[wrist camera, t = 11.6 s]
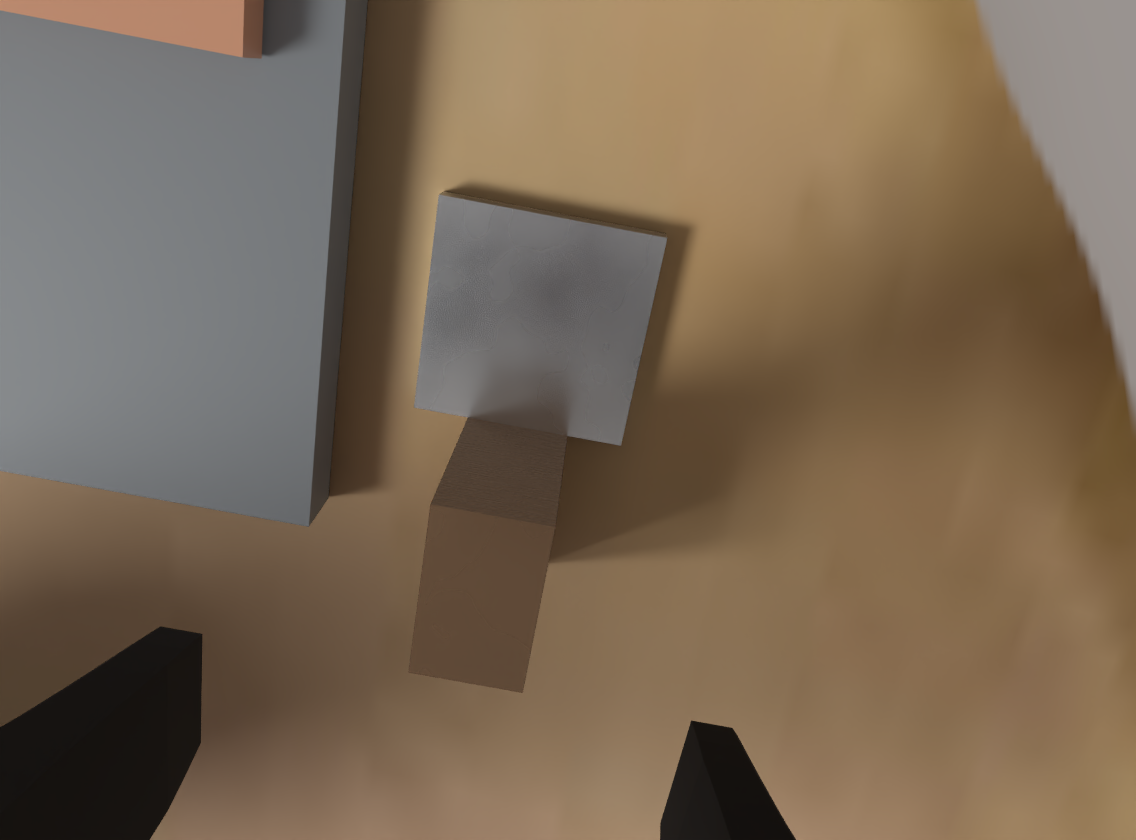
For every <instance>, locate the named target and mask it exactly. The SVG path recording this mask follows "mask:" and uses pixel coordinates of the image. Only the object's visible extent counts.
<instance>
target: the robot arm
mask: <svg viewBox="0 0 1136 840" xmlns="http://www.w3.org/2000/svg"><path fill="white" fill-rule="evenodd" d="M201 684H202V634H199V633H194V632H188V631H183V630H177V629H171V628H166V627H159V628H157V629H156V630H154V631H153V632H151V633H149V634H148V635H146V636H145V637H143V638H142V639H140V640H138V641H137V642H135V643H134V644H132V645H131V646H129V647H128V648H126V649H124V650H123V651H121V652H120V653H118V654H117V655H115V656H114V657H112V658H111V659H109V660H107V661H106V662H104V663H103V664H101V665H100V666H98V667H97V668H95V669H94V670H92V671H90V672H89V673H87V674H86V675H84V676H83V677H81V678H80V679H78V680H77V681H75V682H73V683H72V684H70V685H69V686H67V687H66V688H64V689H62V690H61V691H59V692H58V693H56V694H54V695H53V696H51V697H50V698H48V699H46V700H45V701H43V702H42V703H40V704H38V705H37V706H35V707H34V708H32V709H30V710H29V711H27V712H26V713H24V714H22V715H21V716H19V717H17V718H16V719H14V720H12V721H11V722H9V723H7V724H5V725H4V726H2V727H0V840H150V838H151V836H152V835H153V833H154V832H155V830H156V829H157V827H158V825H159V824H160V822H161V821H162V819H163V817H164V816H165V814H166V812H167V811H168V809H169V807H170V805H171V803H172V801H173V799H174V797H175V795H176V793H177V791H178V789H179V787H180V785H181V783H182V781H183V779H184V777H185V775H186V773H187V771H188V768H189V766H190V764H191V762H192V760H193V758H194V756H195V754H196V752H197V749H198V747H199V745H200V743H201ZM660 840H796V839H795V837H794V836H793V834H792V832H791V831H790V829H789V828H788V826H787V824H786V822H785V821H784V819H783V817H782V816H781V814H780V812H779V810H778V809H777V807H776V805H775V803H774V802H773V800H772V798H771V796H770V795H769V793H768V791H767V789H766V787H765V786H764V784H763V782H762V780H761V778H760V777H759V775H758V773H757V771H756V769H755V767H754V766H753V764H752V762H751V760H750V758H749V756H748V754H747V753H746V751H745V749H744V747H743V745H742V743H741V741H740V740H739V738H738V736H737V734H736V733H735V731H734V730H733V728H729V727H724V726H718V725H713V724H707V723H701V722H696V721H691V724H690V727H689V730H688V734H687V737H686V740H685V743H684V747H683V750H682V753H681V757H680V760H679V763H678V767H677V770H676V773H675V777H674V780H673V783H672V787H671V790H670V793H669V797H668V800H667V803H666V807H665V810H664V813H663V817H662V820H661V826H660Z"/></svg>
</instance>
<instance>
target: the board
mask: <svg viewBox="0 0 1136 840" xmlns="http://www.w3.org/2000/svg"><path fill="white" fill-rule="evenodd" d="M367 4H368V0H264V8H263V35H262V59H260V58H243V57H238V56H232V55H227V54H222V53H217V52H212V51H207V50H202V49H197V48H191V47H186V46H181V45H176V44H171V43H166V42H161V41H155V40H150V39H145V38H140V37H135V36H130V35H125V34H119V33H114V32H109V31H104V30H99V29H94V28H89V27H83V26H78V25H73V24H68V23H63V22H58V21H53V20H47V19H42V18H37V17H32V16H27V15H22V14H17V13H11V12H6V11H1V10H0V471H4V472H10V473H15V474H21V475H26V476H32V477H37V478H43V479H48V480H54V481H59V482H65V483H70V484H76V485H81V486H87V487H92V488H98V489H103V490H109V491H114V492H120V493H125V494H131V495H136V496H142V497H148V498H153V499H159V500H164V501H170V502H175V503H181V504H186V505H192V506H197V507H203V508H208V509H214V510H219V511H225V512H230V513H236V514H241V515H247V516H252V517H258V518H263V519H269V520H274V521H280V522H285V523H291V524H296V525H302V526H307V527H309V526H310V524H311V523H312V521H313V520H314V518H315V517H316V516H317V514H318V513H319V511H320V510H321V508H322V507H323V505H324V504H325V502H326V501H327V499H328V497H329V484H330V471H331V459H332V446H333V433H334V421H335V408H336V396H337V383H338V370H339V358H340V345H341V332H342V320H343V307H344V294H345V282H346V269H347V256H348V244H349V231H350V218H351V206H352V193H353V181H354V168H355V155H356V143H357V130H358V117H359V105H360V92H361V79H362V67H363V54H364V41H365V29H366V16H367Z"/></svg>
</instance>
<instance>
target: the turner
mask: <svg viewBox="0 0 1136 840" xmlns="http://www.w3.org/2000/svg"><path fill="white" fill-rule="evenodd" d="M666 242H667V236H666V233H661V232H656V231H651V230H645V229H640V228H635V227H630V226H624V225H619V224H614V223H609V222H603V221H598V220H593V219H588V218H582V217H577V216H572V215H567V214H561V213H556V212H551V211H546V210H540V209H535V208H530V207H525V206H519V205H514V204H509V203H504V202H498V201H493V200H488V199H483V198H477V197H472V196H467V195H462V194H456V193H451V192H446V191H444V192H442V193H441V194H439V199H438V207H437V216H436V224H435V233H434V241H433V250H432V259H431V267H430V276H429V284H428V293H427V301H426V310H425V318H424V327H423V336H422V344H421V353H420V361H419V370H418V378H417V387H416V395H415V404H414V408H420V409H425V410H430V411H436V412H441V413H447V414H452V415H457V416H463V417H468V419H467V421H466V423H465V426H464V428H463V430H462V433H461V435H460V437H459V440H458V442H457V444H456V447H455V449H454V451H453V454H452V456H451V458H450V461H449V463H448V465H447V468H446V470H445V472H444V475H443V477H442V479H441V481H440V484H439V486H438V488H437V491H436V493H435V495H434V498H433V500H432V502H431V505H430V513H429V521H428V528H427V536H426V544H425V551H424V559H423V566H422V574H421V582H420V589H419V597H418V604H417V612H416V620H415V627H414V635H413V643H412V650H411V658H410V665H409V673H415V674H420V675H426V676H432V677H437V678H443V679H448V680H454V681H460V682H465V683H471V684H476V685H482V686H488V687H493V688H499V689H504V690H510V691H516V692H521V693H523V688H524V683H525V678H526V673H527V668H528V663H529V658H530V653H531V648H532V643H533V638H534V633H535V628H536V623H537V618H538V613H539V608H540V603H541V598H542V592H543V587H544V582H545V577H546V572H547V567H548V562H549V557H550V552H551V547H552V542H553V537H554V532H555V527H556V519H557V512H558V504H559V496H560V489H561V481H562V473H563V466H564V458H565V450H566V443H567V436H571V437H576V438H582V439H587V440H592V441H598V442H603V443H609V444H614V445H619V446H621V443H622V439H623V434H624V430H625V425H626V421H627V416H628V412H629V407H630V403H631V398H632V394H633V390H634V385H635V381H636V376H637V372H638V367H639V363H640V358H641V354H642V349H643V345H644V340H645V336H646V331H647V327H648V322H649V318H650V313H651V309H652V304H653V300H654V295H655V291H656V287H657V282H658V278H659V273H660V269H661V264H662V260H663V255H664V251H665V246H666Z"/></svg>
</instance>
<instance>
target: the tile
mask: <svg viewBox="0 0 1136 840" xmlns="http://www.w3.org/2000/svg"><path fill="white" fill-rule="evenodd" d="M263 8H264V0H0V10H1V11H6V12H11V13H17V14H22V15H27V16H32V17H37V18H42V19H47V20H53V21H58V22H63V23H68V24H73V25H78V26H83V27H89V28H94V29H99V30H104V31H109V32H114V33H119V34H125V35H130V36H135V37H140V38H145V39H150V40H155V41H161V42H166V43H171V44H176V45H181V46H186V47H191V48H197V49H202V50H207V51H212V52H217V53H222V54H227V55H232V56H238V57H243V58H260V59H262V35H263Z"/></svg>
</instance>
